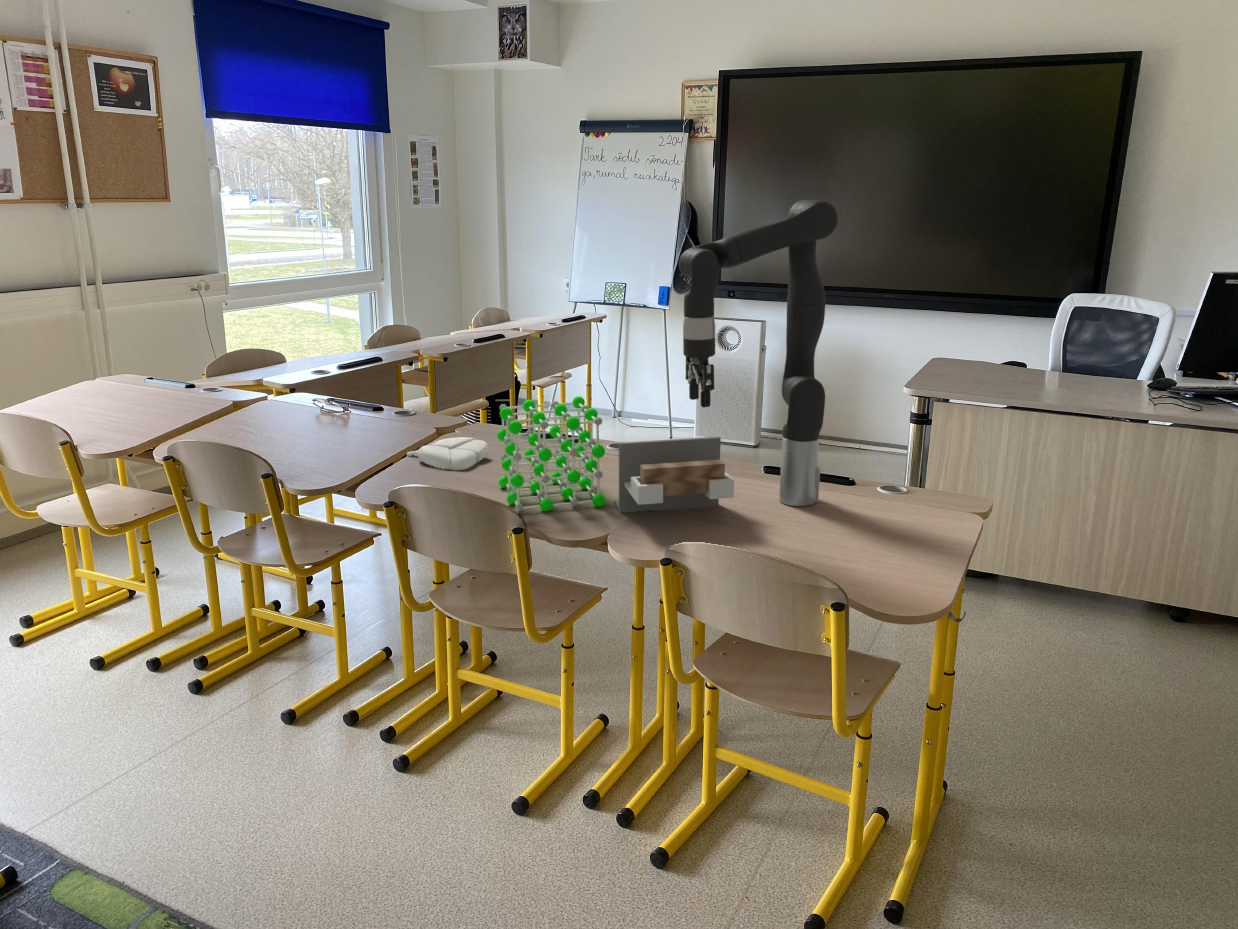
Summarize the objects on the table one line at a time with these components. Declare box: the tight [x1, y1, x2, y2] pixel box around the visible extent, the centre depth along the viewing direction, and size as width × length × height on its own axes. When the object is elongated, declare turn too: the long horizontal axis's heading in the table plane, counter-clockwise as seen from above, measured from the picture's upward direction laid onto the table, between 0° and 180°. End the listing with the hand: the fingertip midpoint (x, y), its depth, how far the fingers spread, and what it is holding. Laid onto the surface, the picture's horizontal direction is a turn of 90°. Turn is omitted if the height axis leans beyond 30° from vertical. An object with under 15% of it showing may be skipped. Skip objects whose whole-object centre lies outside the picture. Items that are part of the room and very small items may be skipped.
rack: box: [613, 436, 735, 514], centre depth 227 cm, size 26×21×18 cm
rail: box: [640, 459, 726, 496], centre depth 220 cm, size 20×4×7 cm, turn 103°
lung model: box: [406, 436, 489, 471], centre depth 274 cm, size 7×17×25 cm
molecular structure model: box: [496, 395, 606, 512], centre depth 239 cm, size 24×25×24 cm
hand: (699, 402), depth 220 cm, fingers open, 8 cm apart
